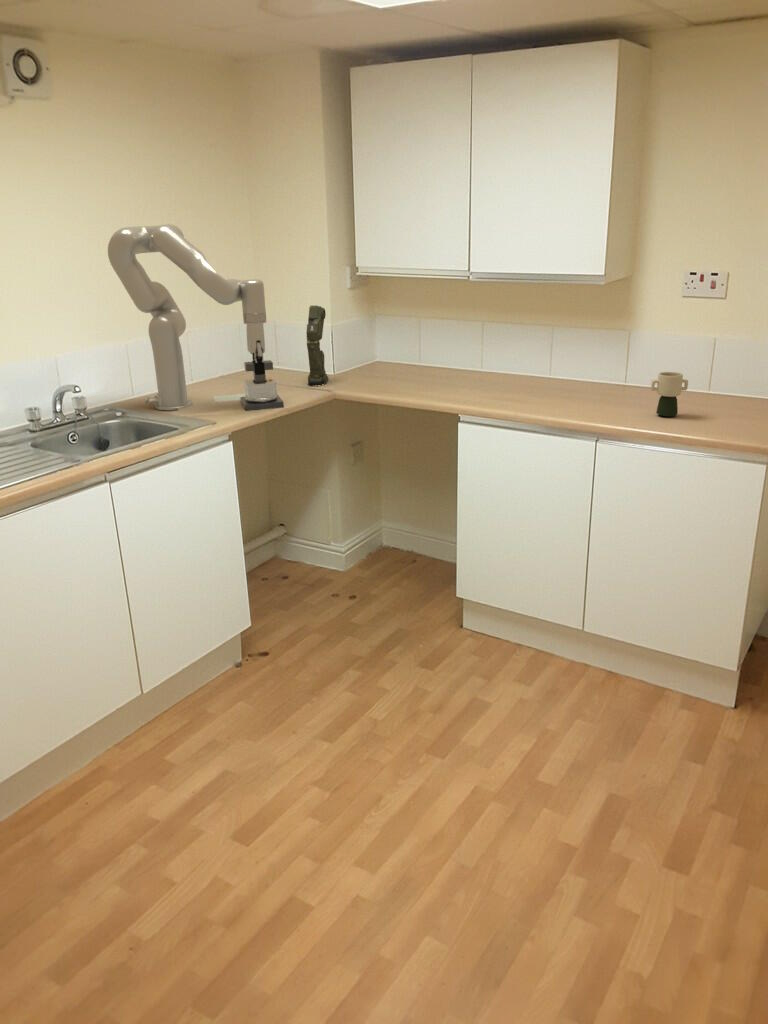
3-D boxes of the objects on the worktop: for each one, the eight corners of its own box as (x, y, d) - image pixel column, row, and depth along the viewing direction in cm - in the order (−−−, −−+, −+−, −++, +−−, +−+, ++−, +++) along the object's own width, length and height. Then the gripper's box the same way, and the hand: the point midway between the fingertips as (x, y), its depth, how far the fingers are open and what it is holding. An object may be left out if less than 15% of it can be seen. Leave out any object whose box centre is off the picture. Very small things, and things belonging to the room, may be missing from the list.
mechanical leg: (320, 386, 308) (321, 303, 304) (301, 385, 309) (302, 303, 306) (330, 387, 321) (331, 308, 318) (312, 386, 323) (313, 308, 319)
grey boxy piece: (247, 403, 278) (245, 384, 275) (243, 396, 288) (241, 378, 285) (279, 400, 280) (278, 382, 278) (274, 393, 290) (273, 376, 288)
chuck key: (248, 392, 280) (245, 364, 277) (246, 389, 284) (244, 362, 281) (274, 390, 282) (272, 362, 279) (272, 387, 286) (270, 360, 283)
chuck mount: (245, 410, 277) (244, 405, 277) (240, 402, 289) (240, 397, 288) (283, 407, 281) (283, 401, 280) (277, 399, 292) (277, 394, 292)
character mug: (681, 412, 258) (685, 371, 254) (688, 418, 252) (692, 375, 247) (645, 413, 259) (649, 372, 255) (651, 418, 252) (655, 376, 248)
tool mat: (215, 403, 289) (215, 402, 289) (212, 397, 298) (212, 396, 298) (249, 400, 292) (249, 399, 292) (246, 395, 301) (246, 393, 301)
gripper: (240, 316, 281) (244, 369, 288) (246, 322, 266) (251, 378, 272) (262, 314, 283) (266, 368, 290) (269, 320, 268) (273, 376, 274)
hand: (259, 372), depth 281 cm, fingers closed on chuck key, 4 cm apart
